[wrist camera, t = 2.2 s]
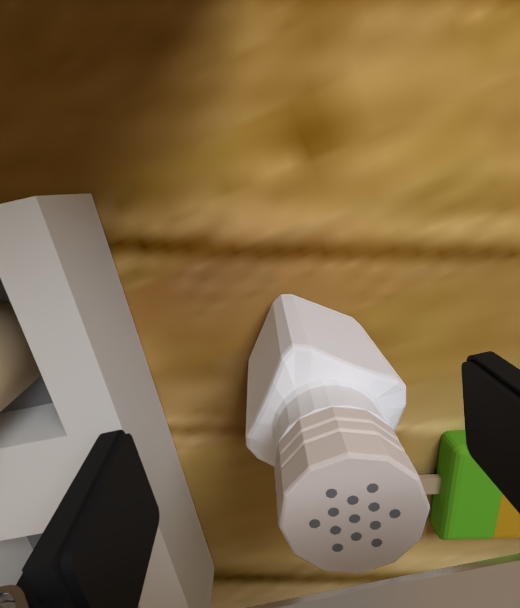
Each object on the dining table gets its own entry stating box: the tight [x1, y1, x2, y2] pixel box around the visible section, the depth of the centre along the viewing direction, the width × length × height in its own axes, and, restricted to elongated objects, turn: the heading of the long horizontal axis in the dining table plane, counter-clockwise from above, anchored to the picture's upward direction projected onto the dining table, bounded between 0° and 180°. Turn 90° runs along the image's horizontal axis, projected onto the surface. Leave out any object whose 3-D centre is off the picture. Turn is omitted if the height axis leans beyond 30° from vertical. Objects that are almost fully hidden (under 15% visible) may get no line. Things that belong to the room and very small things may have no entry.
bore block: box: [0, 193, 215, 608], centre depth 14 cm, size 10×20×8 cm, turn 12°
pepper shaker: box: [245, 294, 430, 574], centre depth 13 cm, size 4×4×10 cm
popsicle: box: [419, 430, 520, 540], centre depth 19 cm, size 6×15×2 cm, turn 91°
